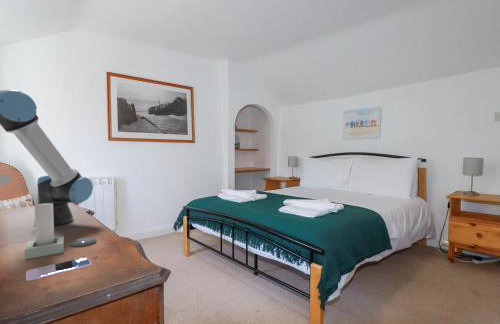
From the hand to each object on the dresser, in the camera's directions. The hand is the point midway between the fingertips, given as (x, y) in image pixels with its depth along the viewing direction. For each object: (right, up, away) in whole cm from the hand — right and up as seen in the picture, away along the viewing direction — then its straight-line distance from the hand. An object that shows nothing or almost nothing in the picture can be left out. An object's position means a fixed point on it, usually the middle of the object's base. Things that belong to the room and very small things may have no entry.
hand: (7, 180), depth 86 cm
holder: (+8, -25, +6) cm, 26 cm away
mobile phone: (+23, -25, -9) cm, 35 cm away
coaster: (+16, -24, +14) cm, 32 cm away
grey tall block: (+8, -25, +6) cm, 26 cm away
